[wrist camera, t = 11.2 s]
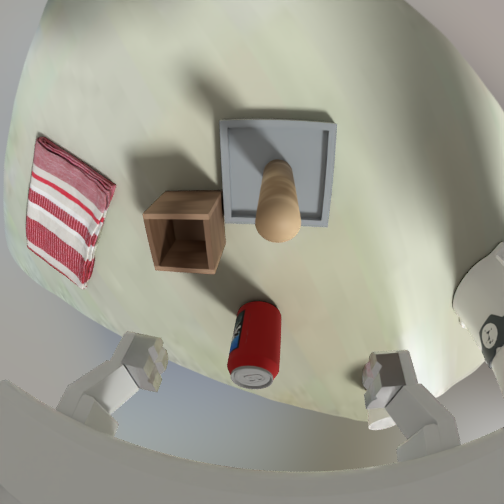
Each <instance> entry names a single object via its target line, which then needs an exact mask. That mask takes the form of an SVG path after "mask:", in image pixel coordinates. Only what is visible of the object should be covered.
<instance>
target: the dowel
mask: <svg viewBox="0 0 504 504" xmlns="http://www.w3.org/2000/svg"><path fill="white" fill-rule="evenodd" d="M255 226H256V229H257V231H258V233H259V234H260V235H261V236H262V237H263V238H265V239H266V240H268V241H271V242H277V243H279V242H285V241H288V240H290V239H292V238H293V237H294V236H296V234H297V233H298V232H299V230H300V227H301V218H300V211H299V205H298V199H297V194H296V188H295V182H294V177H293V171H292V168H291V166H290V165H289V164H288V163H287V162H286V161H284V160H280V159H276V160H272V161H270V162H269V163H267V165H266V166H265V168H264V171H263V177H262V183H261V189H260V195H259V200H258V206H257V212H256V218H255Z"/></svg>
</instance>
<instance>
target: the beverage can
mask: <svg viewBox="0 0 504 504" xmlns="http://www.w3.org/2000/svg"><path fill="white" fill-rule="evenodd" d="M280 344H281V314H280V312H279V310H278V309H277V308H276V307H275V306H273V305H272V304H269V303H267V302H262V301H254V302H249V303H246V304H244V305H243V306H242V307H241V308H240V309H239V311H238V314H237V318H236V323H235V328H234V333H233V337H232V343H231V348H230V353H229V358H228V364H227V367H228V370H229V373H230V375H231V380H232V381H233V382H234V383H235V384H237V385H238V386H241V387H244V388H248V389H262V388H266V387H268V386H270V385H271V384H272V382H273V380H274V378H275V377H276V376H277V374H278V372H279V363H280Z"/></svg>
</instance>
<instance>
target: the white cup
mask: <svg viewBox="0 0 504 504" xmlns="http://www.w3.org/2000/svg"><path fill="white" fill-rule="evenodd" d="M367 411H368V426H369V429H371V430H380V429H385V428H389V427H391V426H394V425H396V423H395V422H394V421H393V419H392V418H391V416H390V415H389V414H388V412H387V411H386V410H385V408H375V409H367Z"/></svg>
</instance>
